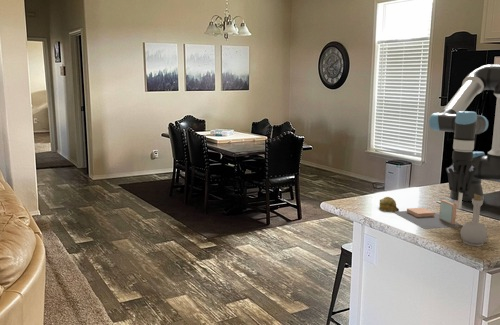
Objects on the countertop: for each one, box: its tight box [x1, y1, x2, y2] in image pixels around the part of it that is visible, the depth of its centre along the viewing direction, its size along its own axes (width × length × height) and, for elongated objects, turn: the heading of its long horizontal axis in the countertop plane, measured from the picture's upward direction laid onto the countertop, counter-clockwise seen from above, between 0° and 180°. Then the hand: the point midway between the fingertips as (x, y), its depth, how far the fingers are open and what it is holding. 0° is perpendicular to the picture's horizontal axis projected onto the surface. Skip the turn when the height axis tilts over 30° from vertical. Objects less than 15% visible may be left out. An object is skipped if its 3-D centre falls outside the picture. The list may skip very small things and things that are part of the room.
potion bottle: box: [459, 194, 488, 247], centre depth 164 cm, size 9×9×18 cm
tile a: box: [406, 207, 436, 217], centre depth 198 cm, size 2×8×8 cm
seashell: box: [379, 196, 400, 213], centre depth 206 cm, size 10×7×8 cm
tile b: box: [439, 199, 457, 224], centre depth 188 cm, size 2×8×8 cm, turn 14°
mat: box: [392, 210, 464, 230], centre depth 192 cm, size 18×24×1 cm
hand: (457, 207), depth 189 cm, fingers closed
